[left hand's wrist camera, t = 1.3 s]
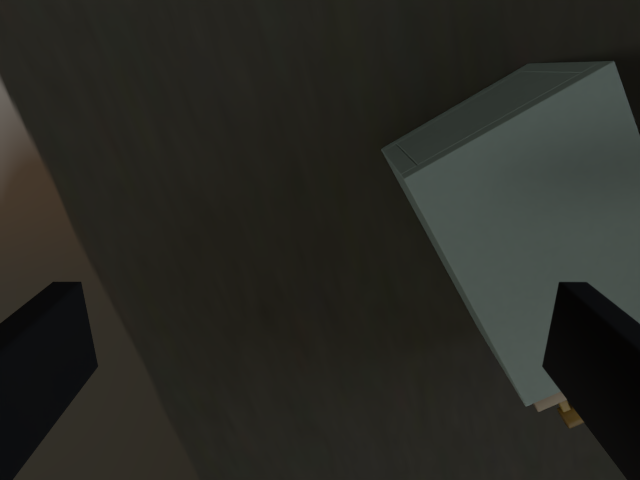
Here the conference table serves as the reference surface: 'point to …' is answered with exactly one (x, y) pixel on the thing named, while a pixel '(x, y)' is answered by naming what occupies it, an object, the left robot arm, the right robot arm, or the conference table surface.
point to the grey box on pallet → (530, 202)
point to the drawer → (560, 409)
